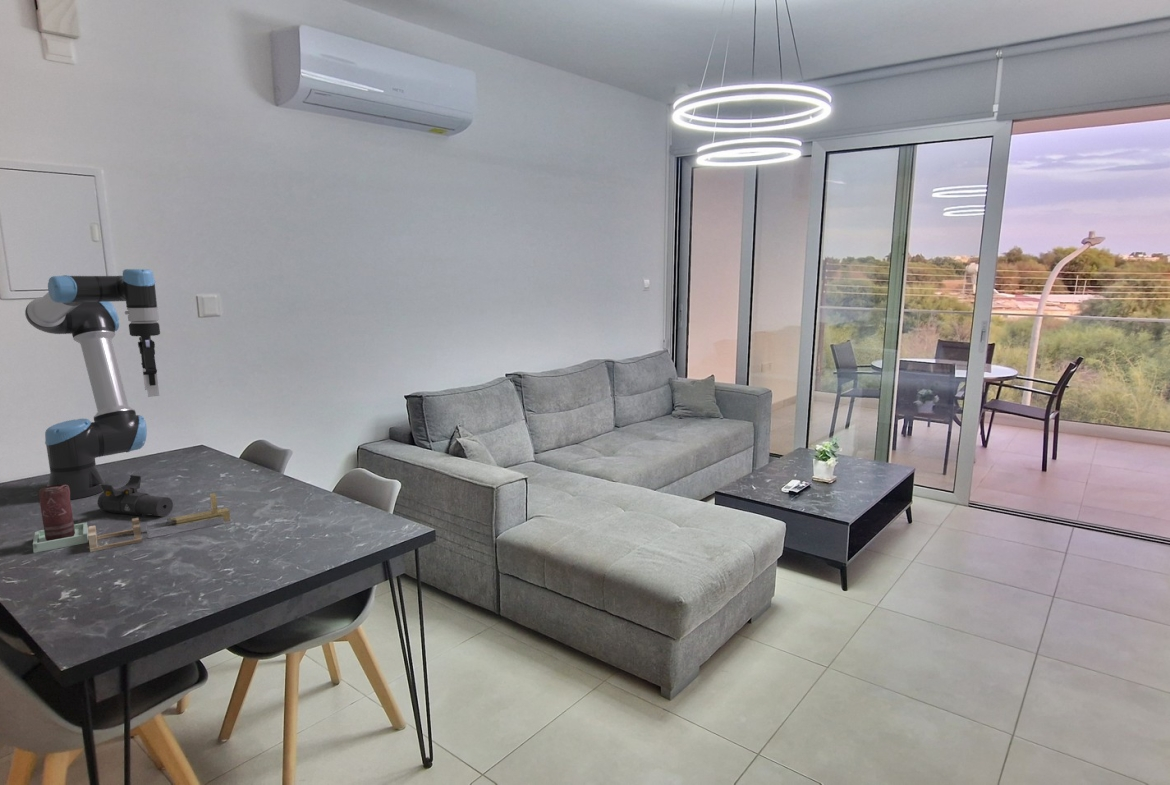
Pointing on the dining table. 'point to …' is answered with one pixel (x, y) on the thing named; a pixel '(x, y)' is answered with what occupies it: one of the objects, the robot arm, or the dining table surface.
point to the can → (56, 512)
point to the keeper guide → (180, 526)
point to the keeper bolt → (202, 514)
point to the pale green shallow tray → (45, 545)
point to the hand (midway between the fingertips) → (152, 393)
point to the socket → (94, 537)
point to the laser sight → (133, 500)
